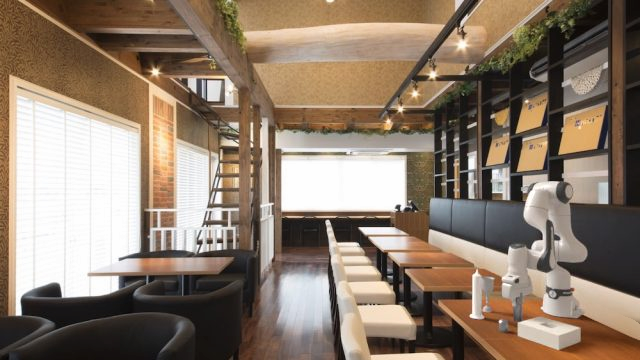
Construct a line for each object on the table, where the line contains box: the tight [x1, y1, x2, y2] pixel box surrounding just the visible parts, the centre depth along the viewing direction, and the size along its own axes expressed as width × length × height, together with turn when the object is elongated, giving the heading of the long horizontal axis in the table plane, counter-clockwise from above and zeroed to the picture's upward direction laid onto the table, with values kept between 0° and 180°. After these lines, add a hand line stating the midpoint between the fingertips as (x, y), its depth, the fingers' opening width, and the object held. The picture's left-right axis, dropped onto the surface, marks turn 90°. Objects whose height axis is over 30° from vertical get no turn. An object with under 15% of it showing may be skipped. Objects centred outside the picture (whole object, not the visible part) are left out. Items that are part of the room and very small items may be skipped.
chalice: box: [482, 276, 495, 313], centre depth 217 cm, size 7×7×18 cm
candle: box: [469, 268, 485, 320], centre depth 206 cm, size 7×7×25 cm
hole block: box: [517, 315, 582, 351], centre depth 178 cm, size 18×18×6 cm
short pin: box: [498, 318, 509, 334], centre depth 187 cm, size 4×4×5 cm
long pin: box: [512, 293, 523, 323], centre depth 196 cm, size 4×4×14 cm
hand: (517, 305), depth 196 cm, fingers closed on long pin, 4 cm apart
